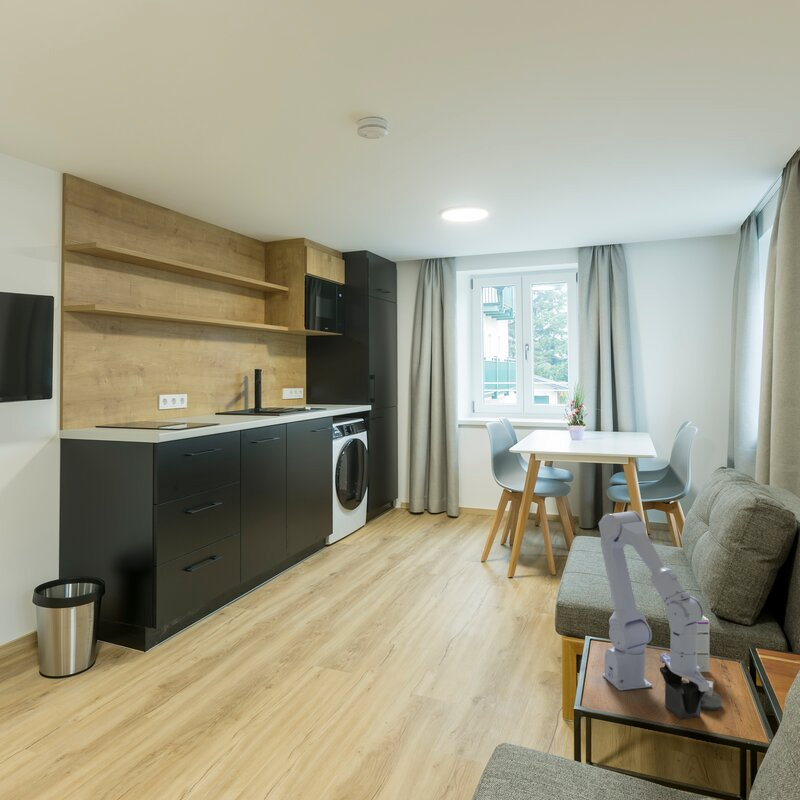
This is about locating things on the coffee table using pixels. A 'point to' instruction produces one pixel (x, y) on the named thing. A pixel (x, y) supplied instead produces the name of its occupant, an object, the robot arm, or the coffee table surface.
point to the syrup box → (703, 644)
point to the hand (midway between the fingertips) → (682, 705)
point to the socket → (678, 700)
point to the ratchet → (711, 698)
